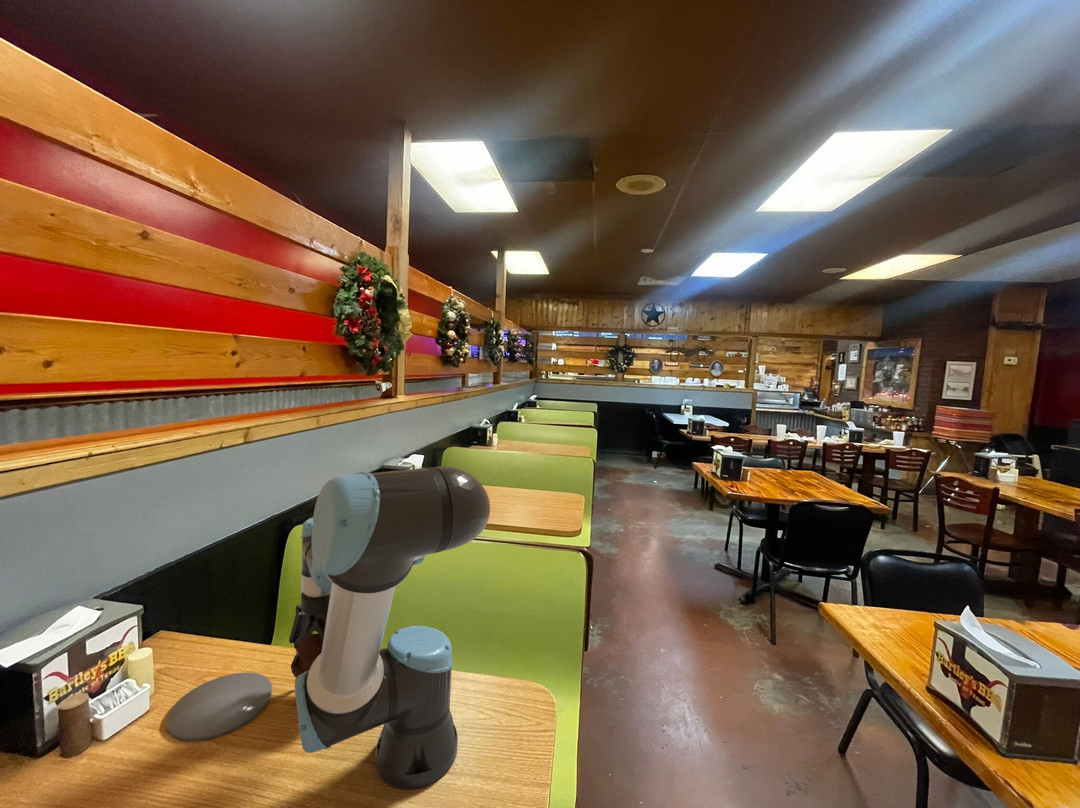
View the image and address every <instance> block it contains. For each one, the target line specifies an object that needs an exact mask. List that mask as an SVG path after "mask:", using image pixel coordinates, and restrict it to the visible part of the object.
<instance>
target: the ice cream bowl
mask: <svg viewBox="0 0 1080 808" xmlns="http://www.w3.org/2000/svg"><path fill="white" fill-rule="evenodd" d="M322 646H323V640H321V638H320V635H319V634H318V633H313V634H312V635H309V636H307V637H305V638H304V639H303V640H302V641H301V643H300V644H299V647H298V649H297V652H298V654H297V655H296V654H295V655H294V656H293V658H292V659H293V660H292V662H291V665H290V669H291V673H292V674H293V676H294V678H296V677H297V676H298V675H300V674H303V673H304V672H305V671H309V670H310V668H311V666H312V664H313V662H314V661H315V659H316V658H317V657H318V656H319V655H320V654H321V653H322Z"/></svg>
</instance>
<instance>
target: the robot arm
mask: <svg viewBox="0 0 1080 808" xmlns="http://www.w3.org/2000/svg"><path fill="white" fill-rule="evenodd" d="M490 503H491V502H490V499H489V496H488V493H487V491H486V489H485V488H484V485H483V484H482V483H481V481H479V480H478V479H477V478H476V477H475V476H473V475H472V474H471V473H469V472H467V471H465V470H464V469H460V468H458V467H453V466H442V465H441V466H431V467H421V468H414V469H413V468H411V469H404V470H403V469H401V470H390V471H381V472H372V473H371V472H369V471H359V472H356V473H353V474H347V475H346V474H345V475H339V476H336V477H332V478H331V479H329V480H328V481H327V482H326V483H325V484H324V485H323V486H322V488H321V490H320V491H319V494H318V495H317V499H316V502H315V504H314V505H315V506H314V510H313V516H312V517H310V518H308V519H307V520H305V521H304V522H303V524H302V529H301V530H302V531H301V536H300V538H301V573H300V575H301V579H300V581H301V582H300V590H301V591H300V592H301V593H300V604H298V605H296V606H295V617H294V620H293V624H292V628H291V631H290V635H289V637H288V643H289V644H293V648H294V650H295V655H297V654H298V652H297V649H298V647H299V644H300V643H301V641H302V640H303V639H304V638H305V637H307V636H309V635H312V634H314V632H316V634H319V635H320V638H321V640H323V646H322V653H321V654H320V655H319V656H318V657H317V658H316V659H315V661H314V662H313V664H312V666H311V668H310V670H309V671H305V672H304V673H303V674H300V675H298V676H297V677H295V679H294V693H295V695H294V696H295V704H296V705H295V706H296V711H297V720H298V726H299V727H298V728H299V736H300V742H301V746H302V747H301V748H302V750H303V751H304V752H305V753H308V754H311V753H315V752H319V751H321V750H328V749H330V748H332V746H335V745H337V744H339V743H341V742H344V741H346V740H349V739H350V738H351V739H352V738H354V737H356V736H358V735H361V734H363V733H365V732H368V731H371V730H373V729H376V728H377V727H378V728H379V727H380V726H382V725H383V726H382V729H381V732H380V735H379V737H378V740H377V743H376V748H375V760H374V762H375V764H374V765H375V770H376V772H377V775H378V776H379V778H380V779H381V780H382V781H383V782H384V783H386V784H387V785H388V786H391V787H393V788H396V789H400V790H416V789H420V788H421V789H422V788H424V787H426V786H429V785H431V784H433V783H435V782H437V781H438V780H439V779H441V778H442V777H444V775H446V773H448V771H449V770H450V769H451V767H452V766H453V764H454V763H455V759H456V757H457V753H458V746H459V745H458V743H459V742H458V741H459V739H458V736H459V735H458V732H457V727H456V725H455V724H454V719H453V715H452V711H451V709H450V708H451V691H452V690H451V689H452V668H453V664H454V663H453V662H454V661H453V655H452V653H453V652H452V650H453V649H452V643H451V641H450V639H449V637H447V634H445V633H444V632H442V631H441V630H439V629H436V628H434V627H430V626H425V625H411V626H406V627H403V628H400V629H398V630H396V631H395V632H394V633H393V634H392V635H391V636H390V637H389V639H388V642H387V647H384V648H383V647H382V644H383V639H384V636H385V632H386V628H387V623H388V621H389V615H390V612H391V608H392V603H393V599H394V596H395V591H396V587H398V586H399V585H400V584H402V583H403V582H404V581H405V580H406V578H407V577H408V576H409V574H410V573H411V571H412V569H413V568H412V567H413V566H417V565H420V564H422V563H423V562H424V560H425V557H426V556H427V555H433V554H437V553H441V552H445V551H451V550H453V549H457V548H460V547H462V546H465V545H467V544H468V543H471V542H472V541H474V540H475V539H476V538H478V537H479V535H481V533H482V532H483V531H484V529H485V528H486V526H487V524H488V521H489V518H490V515H491V504H490Z"/></svg>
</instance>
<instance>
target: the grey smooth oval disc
mask: <svg viewBox="0 0 1080 808" xmlns="http://www.w3.org/2000/svg"><path fill="white" fill-rule="evenodd" d="M272 688H273V687H272V683H271V680H270V679H269V678H268V677H267V676H265V675H263V674H260V673H257V672H236V673H231V674H225V675H223V676H219V677H216V678H214V679H211V680H208V681H206V682H204V683H202V684H200V685H198V686H196V687H195V688H193V689H191V690H189V692H187V693H185V694H184V695H183V696H182V697H180V698H179V699H178V700H177V701H176V702H175V703H174V705H173V706H172V707H171V708H170V710H169V712H168V714H167V716H166V720H165V721H166V730H167V733H168V734H169V736H170V737H172V738H174V739H176V740H178V741H182V742H200V741H201V742H202V741H207V740H211V739H215V738H218V737H221V736H225V735H227V734H229V733H232V732H234V731H235V730H238V729H240V728H242V727H243V726H245V725H246V724H248V723H250V722H251V721H253V719H255V718H256V717H257V716H258V715H259V714H260V713H262V712H263V710H264V709H265V708H266V707H267V705H268V704H269V702H270V700H271V697H272V692H273V689H272Z"/></svg>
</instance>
